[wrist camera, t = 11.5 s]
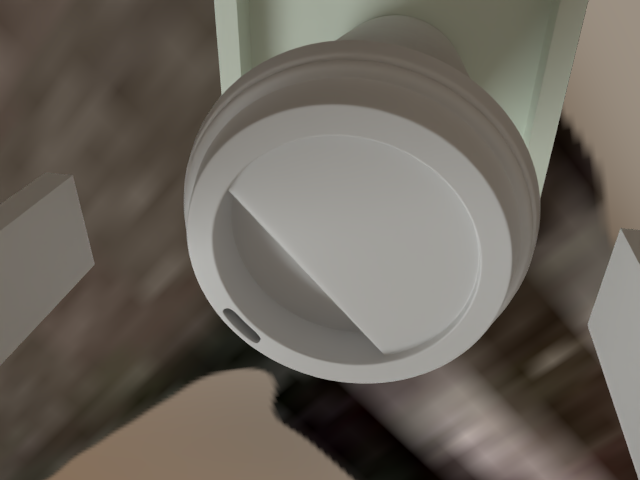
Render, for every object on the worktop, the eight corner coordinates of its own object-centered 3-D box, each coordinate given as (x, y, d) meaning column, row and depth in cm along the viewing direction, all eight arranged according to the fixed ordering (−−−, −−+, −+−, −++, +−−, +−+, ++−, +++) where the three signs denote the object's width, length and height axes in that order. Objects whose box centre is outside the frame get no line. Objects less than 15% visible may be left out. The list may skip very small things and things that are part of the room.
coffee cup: (264, 17, 26) (84, 130, 13) (477, -59, 22) (512, -6, 10) (329, 199, 30) (242, 419, 17) (517, 157, 27) (578, 388, 14)
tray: (225, -131, 24) (203, -134, 21) (603, -129, 21) (620, -132, 19) (247, 221, 32) (233, 243, 30) (516, 250, 30) (521, 276, 28)
